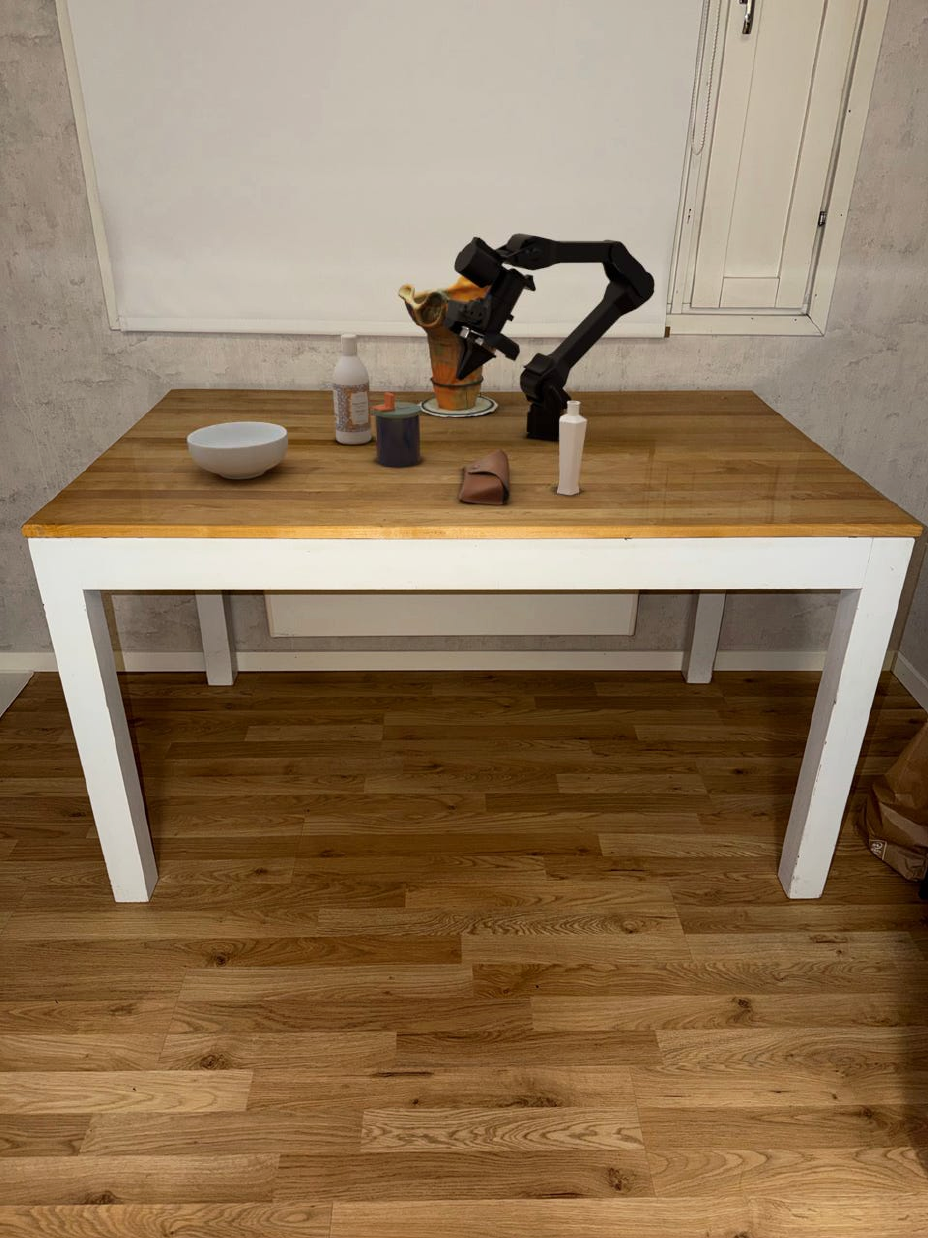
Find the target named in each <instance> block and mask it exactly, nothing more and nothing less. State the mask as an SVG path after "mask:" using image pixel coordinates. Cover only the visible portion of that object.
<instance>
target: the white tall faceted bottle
mask: <svg viewBox="0 0 928 1238" xmlns="http://www.w3.org/2000/svg"><path fill="white" fill-rule="evenodd" d="M567 404H568V409H566V410H567V411H566V413H564V415H563V416H561V417H560V420H559V439H558V440H559V441H558V443H559V445H558V447H559V449H558V450H559V453H558V455H559V456H558V457H559V460H558V462H559V467H558V469H559V470H558V471H559V472H558V473H559V479H558V480H559V481H558V482H559V483H558V486H557V490H556V493H557V494H559V495H566V496H573V495H576V494H578V493H580V488H579V487H580V486H579V477H580V470H581V464H582V458H583V451H584V444H585V437H586V431H587V424H588V419H586V418H585V417H584V416H582V415H580V405H581V401H577V400H571V401H568V402H567Z"/></svg>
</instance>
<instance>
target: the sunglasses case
mask: <svg viewBox="0 0 928 1238" xmlns="http://www.w3.org/2000/svg"><path fill="white" fill-rule="evenodd" d="M509 463H510V462H509V458H508V455H507V453H506V452H505V451H504V450H503V449H501V448H500V449H497V450H495V451H492V452H490V453H489V454H487V455H486V456H484V457H482V458H481V459H479V460H476V461H473V462H471V463H467V464H466V465H464V466H463V468H462V470H463V479H462V487H461V489H460V492H459V496H458V500H459V501H462V502H465V503H470V504H476V505H477V504H478V505H491V506H492V505H494V506H502V505H504V504H506V503H507V502H508V501H509V500H510V496H511V495H510V493H511V481H510V464H509Z"/></svg>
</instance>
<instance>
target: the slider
mask: <svg viewBox="0 0 928 1238" xmlns="http://www.w3.org/2000/svg"><path fill="white" fill-rule="evenodd" d="M383 394H384V403H385V405H380V406H376V405H374V406H373V407H372V410H373V409H375V410H377V411H379V412H384V411H391V410H395V408H394V407H395V403H394V402H395V395H394V394H393V393H390V392H389V391H388V392H384V393H383Z"/></svg>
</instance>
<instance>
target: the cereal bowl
mask: <svg viewBox="0 0 928 1238" xmlns="http://www.w3.org/2000/svg"><path fill="white" fill-rule="evenodd" d="M288 433H289V432H288V431H287V429H286V428H285V427H283V426H282V425H279V424H276V423H275V424H274V423H271V422H263V421H234V422H226V423H225V422H224V423H218V424H212V425H209V426H205V427H202V428H199V429H196V430H195V431H192V432H191V433H189V434H188V435H187V438H186V442H187V447H188V451H189V454H190V456H191V458H192V460H193V462H195V464H196V465H198V467H200V468H201V469H203V470H205V471H206V472H209V473H212V474H216V475H219V476H220V477H222V478H225V479H228V480H248V479H254V478H257V477H260V476H262V475H264V473H266V471H268V470H270V469H272V468H274V467H276V466H277V465H279V464H280V463H281V462H282V461H283V460H284V458H285V456H286V455H287V452H288V448H289V434H288Z"/></svg>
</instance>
